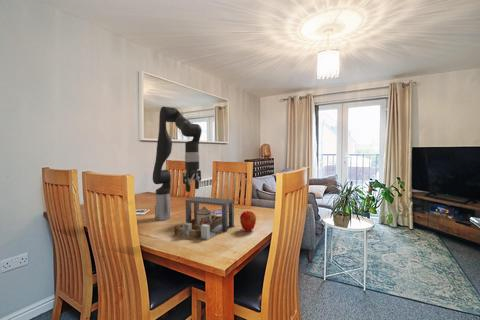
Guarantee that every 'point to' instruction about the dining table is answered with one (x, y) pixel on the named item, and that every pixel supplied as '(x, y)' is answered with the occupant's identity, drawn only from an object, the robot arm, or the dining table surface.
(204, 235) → the light grey block
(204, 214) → the teacup with lid
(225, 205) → the shelf
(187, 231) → the sled walnut
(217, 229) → the strip grey far
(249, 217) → the apple
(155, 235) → the dining table surface
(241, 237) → the dining table surface
